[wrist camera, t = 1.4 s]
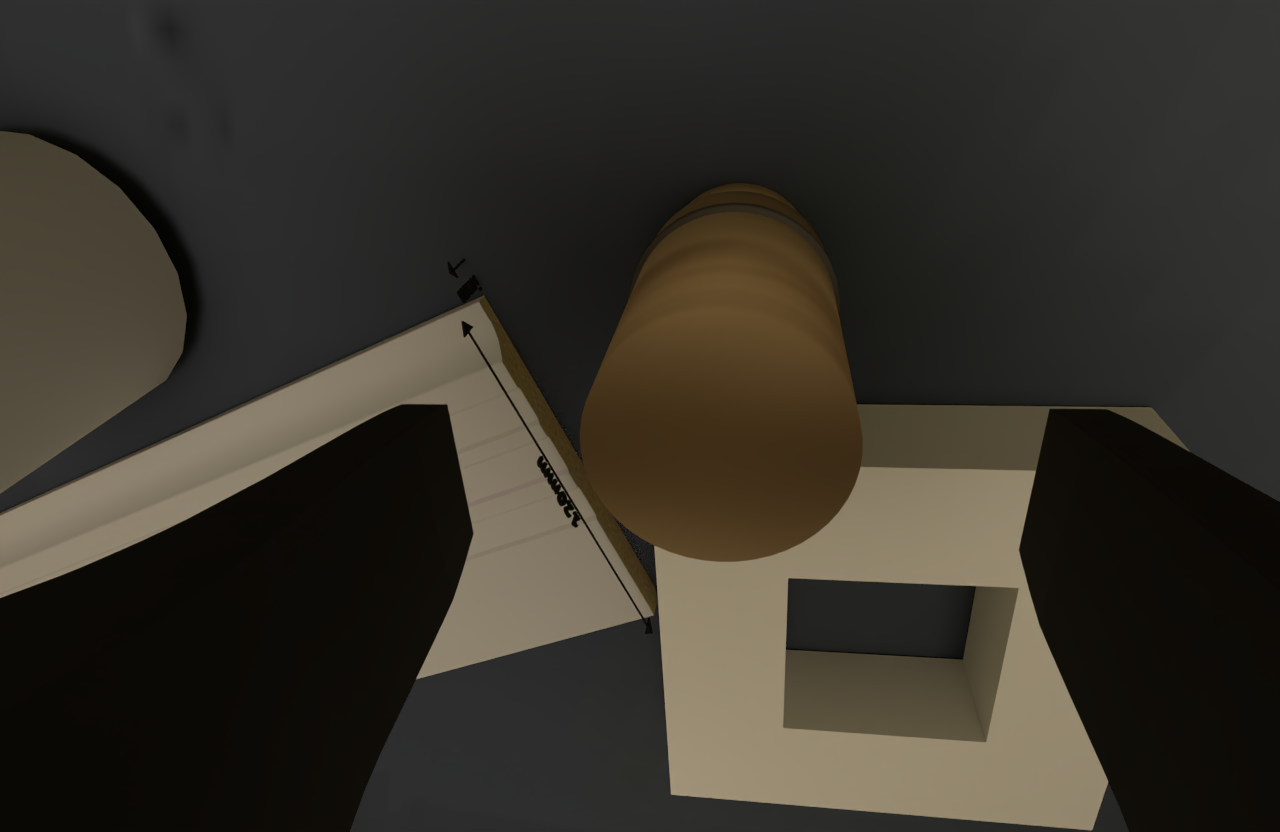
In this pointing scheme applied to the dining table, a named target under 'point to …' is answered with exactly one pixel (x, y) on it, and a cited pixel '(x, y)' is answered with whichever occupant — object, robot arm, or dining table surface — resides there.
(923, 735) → the socket board
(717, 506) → the oak peg
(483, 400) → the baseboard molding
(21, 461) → the can
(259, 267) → the dining table surface
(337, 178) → the dining table surface
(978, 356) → the dining table surface
